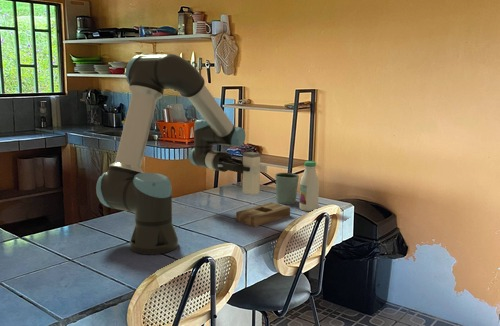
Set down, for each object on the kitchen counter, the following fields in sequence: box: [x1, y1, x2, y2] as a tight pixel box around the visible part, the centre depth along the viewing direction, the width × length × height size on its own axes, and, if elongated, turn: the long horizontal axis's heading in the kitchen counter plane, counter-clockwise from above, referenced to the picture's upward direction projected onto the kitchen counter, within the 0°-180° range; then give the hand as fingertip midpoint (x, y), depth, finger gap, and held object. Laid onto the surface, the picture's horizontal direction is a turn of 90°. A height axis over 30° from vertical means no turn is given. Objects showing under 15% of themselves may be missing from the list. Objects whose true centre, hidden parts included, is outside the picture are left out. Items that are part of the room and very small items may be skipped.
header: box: [235, 202, 291, 228], centre depth 189 cm, size 10×20×4 cm, turn 135°
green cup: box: [275, 172, 300, 205], centre depth 213 cm, size 10×10×12 cm
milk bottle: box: [298, 160, 320, 212], centre depth 201 cm, size 8×8×20 cm
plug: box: [242, 151, 261, 196], centre depth 182 cm, size 5×4×15 cm
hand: (261, 169), depth 178 cm, fingers closed on plug, 4 cm apart
